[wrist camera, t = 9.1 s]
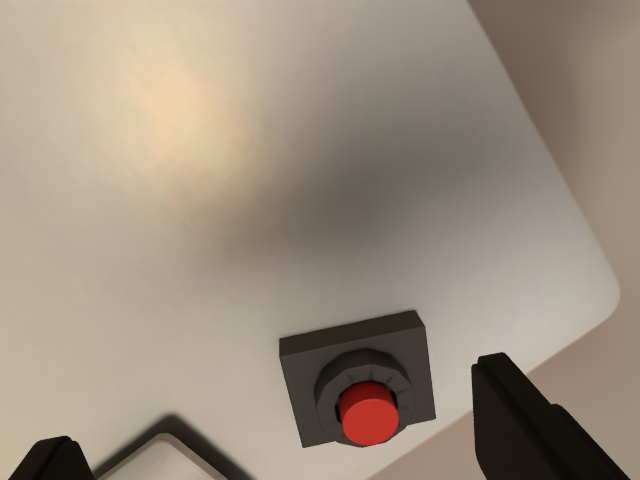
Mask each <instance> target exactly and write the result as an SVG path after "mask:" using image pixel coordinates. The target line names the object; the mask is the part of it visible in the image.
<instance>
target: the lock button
mask: <svg viewBox="0 0 640 480" xmlns="http://www.w3.org/2000/svg"><path fill="white" fill-rule="evenodd" d="M339 412H340V417H341V422H342V427H343V431H344V433H345V435H346V436H347V437H348V438H349V439H350V440H351V441H353V442H355V443H357V444H361V445H374V444H378V443H381V442H383V441H385V440H386V439H388V438H389V437H390V436H391V435H392V434H393V433H394V432H395V430H396V428H397V426H398V422H399V416H398V412H397V409H396V407H395V404H394V401H393V399H392V396H391V394H390V392H389V391H388V389H387V388H386V387H384V386H383V385H381V384H379V383H376V382H369V381H368V382H360V383H357V384H355V385H353V386H351V387H350V388H348V389H347V390H346V391H345V392H344V394H343V395H342V397H341V399H340V402H339Z"/></svg>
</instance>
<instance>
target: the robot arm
mask: <svg viewBox="0 0 640 480" xmlns="http://www.w3.org/2000/svg"><path fill="white" fill-rule="evenodd" d="M471 373H472V394H473V413H474V434H475V452H476V456H477V460H478V463H479V465H480V468H481V470H482V471H483V473H484V475H485V477H486V479H487V480H630V479H629V478H628V476H627V475H625V473H624V472H623V471H622V470H621V469H620V468H619V467H618V466H617V465H616V464H615V463H614V461H613V460H612V459H611V458H610V457H609V456H608V455H607V454H606V453H605V452H604V451H603V449H602V448H601V447H600V446H599V445H598V444H597V443H596V442H595V441H594V440H593V439H592V438H591V437H590V435H589V434H588V433H587V432H586V431H585V430H584V429H583V428H582V427H581V426H580V425H579V423H578V422H577V421H576V420H575V419H574V418H573V417H572V416H571V415H570V414H569V413H568V412H567V411H566V410H565V409H564V408H563V407H562V406H560V405H558V404H550V403H549V402H548V400H547V399H546V398H545V397H544V396H543V395H542V394H541V393H540V392H539V390H538V389H537V388H536V387H535V386H534V385H533V384H532V383H531V382H530V380H529V379H528V378H527V377H526V376H525V375H524V374H523V372H522V371H521V370H520V369H519V368H518V367H517V366H516V365H515V363H514V362H513V361H512V360H511V359H510V358H509V357H508V356H507V355H506V354H505V353H503V352H501V353H495V354H490V355H485V356H480V357H479V358H478V363H477V364H473V365H472V367H471ZM8 480H95V479H94V476H93V474H92V472H91V470H90V468H89V465H88V463H87V461H86V459H85V456H84V454H83V452H82V450H81V448H80V445H79V444H78V442H76V441H72V440H71V438H70V437H68V436H60V437H55V438H50V439H44V440H40V441H38V442H36V443H35V444H34V445H33V447H32V448H31V449H30V451H29V452H28V453H27V455H26V456H25V458H24V459H23V460H22V462H21V463H20V464H19V466H18V467H17V468H16V470H15V471H14V473H13V474H12V475H11V477H10V478H9V479H8Z"/></svg>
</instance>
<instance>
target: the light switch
mask: <svg viewBox="0 0 640 480" xmlns="http://www.w3.org/2000/svg"><path fill="white" fill-rule="evenodd" d="M97 480H228V479H227V478H225V477H224V476H223V475H222V474H221V473H219V472H218V471H217V470H216V469H214V468H213V467H212V466H211V465H209V464H208V463H207V462H206V461H204V460H203V459H202V458H201V457H199V456H198V455H197V454H196V453H194V452H193V451H192V450H191V449H189V448H188V447H187V446H185V445H184V444H183V443H182V442H180V441H179V440H178V439H177V438H176V437H174V436H173V435H171V434H168V433H159V434H158V435H156V436H155V437H154V438H152V439H151V440H150V441H148V442H147V443H146V444H144V445H143V446H142V447H140V448H139V449H138V450H136V451H135V452H133V453H132V454H131V455H129V456H128V457H127V458H125V459H124V460H123V461H121V462H120V463H119V464H117V465H116V466H115V467H113V468H112V469H111V470H109V471H108V472H107V473H105V474H104V475H103V476H101V477H100V478H99V479H97Z"/></svg>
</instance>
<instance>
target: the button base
mask: <svg viewBox="0 0 640 480" xmlns="http://www.w3.org/2000/svg"><path fill="white" fill-rule="evenodd" d="M279 358H280V362H281V366H282V370H283V373H284V377H285V381H286V385H287V389H288V393H289V397H290V401H291V404H292V408H293V412H294V416H295V420H296V424H297V428H298V431H299V435H300V439H301V443H302V447H303V448H306V447H311V446H315V445H320V444H324V443H329V442H333V441H336V442H338V443H341V444H346V445H351V446H356V447H361V448H363V447H367V446H372V445H361V444H357V443H355V442H353V441H351V440H350V439H349V438H348V437H347V436H346V435H345V433H344V431H343V427H342V422H341V417H340V412H339V402H340V399H341V397H342V395H343V394H344V392H345V391H346V390H347V389H348V388H350V387H351V386H353V385H355V384H357V383H360V382H368V381H369V382H376V383H379V384H381V385H383V386H384V387H386V388H387V389H388V391H389V392H390V394H391V396H392V399H393V401H394V404H395V407H396V409H397V412H398V416H399V422H398V426H397V428H396V430H395V432H394V433H393V434H392V435H391V436H390V437H389V438H388V439H386V440H385V441H383V442H381V443H385V442H387V441H389V440H390V439H391V438H393V437H394V436H395V435H397V434H398V433H399V432H401V431H402V430H403V429H405V427H406V426H407V425H411V424H415V423H420V422H424V421H429V420H434V419H436V415H435V406H434V398H433V389H432V381H431V372H430V364H429V355H428V347H427V338H426V330H425V325H424V324H423V322H422V320H421V319H420V317H419V316H418V314H417V313H416V311H411V312H406V313H401V314H396V315H392V316H387V317H382V318H378V319H373V320H368V321H364V322H359V323H354V324H349V325H345V326H340V327H335V328H331V329H326V330H321V331H317V332H312V333H307V334H302V335H298V336H293V337H288V338H284V339H280V340H279ZM381 443H378V444H381ZM374 445H376V444H374Z"/></svg>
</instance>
